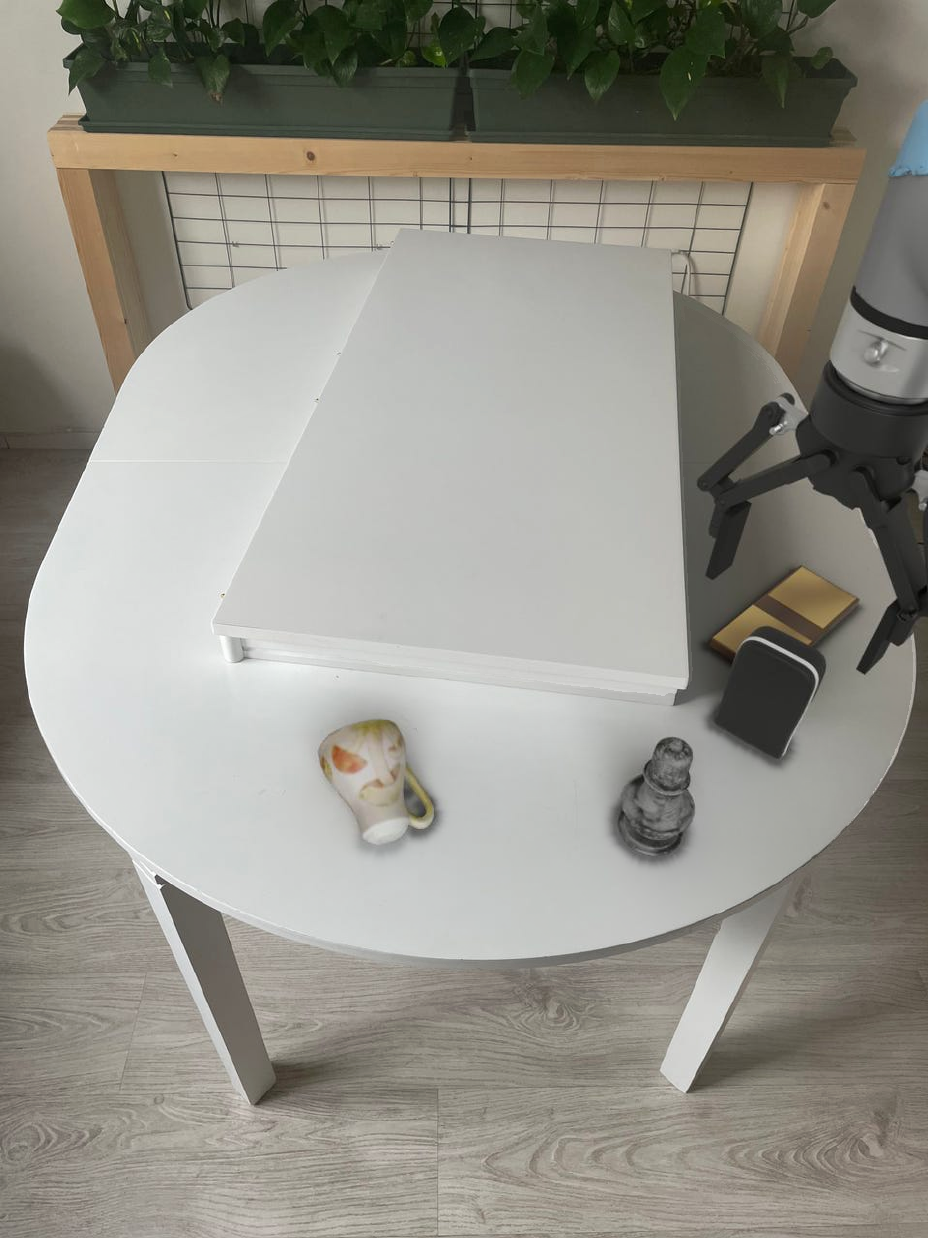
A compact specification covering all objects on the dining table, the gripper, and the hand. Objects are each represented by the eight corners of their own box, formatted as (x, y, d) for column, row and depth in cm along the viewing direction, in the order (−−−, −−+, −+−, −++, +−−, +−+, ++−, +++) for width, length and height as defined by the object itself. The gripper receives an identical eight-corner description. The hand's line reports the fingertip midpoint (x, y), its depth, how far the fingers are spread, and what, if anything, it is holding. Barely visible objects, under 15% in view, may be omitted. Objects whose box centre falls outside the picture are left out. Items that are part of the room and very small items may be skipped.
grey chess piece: (669, 872, 73) (701, 785, 65) (602, 836, 75) (625, 748, 67) (697, 818, 77) (731, 729, 68) (632, 786, 79) (657, 695, 70)
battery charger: (798, 737, 83) (839, 651, 75) (780, 763, 81) (819, 678, 73) (729, 698, 86) (761, 611, 78) (709, 722, 84) (739, 636, 76)
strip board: (856, 607, 95) (860, 598, 94) (769, 686, 87) (772, 677, 86) (797, 572, 99) (801, 563, 98) (708, 646, 91) (711, 637, 90)
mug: (353, 876, 73) (306, 772, 69) (349, 811, 82) (307, 716, 78) (443, 842, 73) (400, 736, 69) (428, 782, 82) (390, 685, 78)
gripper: (687, 317, 61) (635, 556, 76) (1069, 493, 49) (916, 735, 64) (751, 283, 65) (689, 517, 80) (1120, 438, 53) (964, 679, 68)
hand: (790, 615), depth 72 cm, fingers open, 13 cm apart
